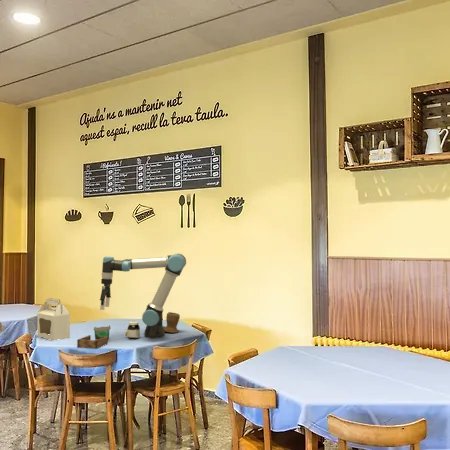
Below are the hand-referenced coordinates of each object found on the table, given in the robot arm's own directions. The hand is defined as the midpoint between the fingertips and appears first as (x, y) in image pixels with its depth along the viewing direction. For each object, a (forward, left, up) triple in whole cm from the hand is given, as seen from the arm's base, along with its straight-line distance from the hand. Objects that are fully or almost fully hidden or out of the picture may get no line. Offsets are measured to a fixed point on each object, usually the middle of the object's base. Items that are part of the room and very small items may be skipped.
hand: (104, 308), depth 356 cm
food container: (-1, +4, -23) cm, 23 cm away
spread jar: (-16, -10, -23) cm, 29 cm away
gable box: (+39, +3, -23) cm, 46 cm away
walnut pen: (-1, +19, -22) cm, 29 cm away
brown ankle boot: (-35, -38, -23) cm, 56 cm away
